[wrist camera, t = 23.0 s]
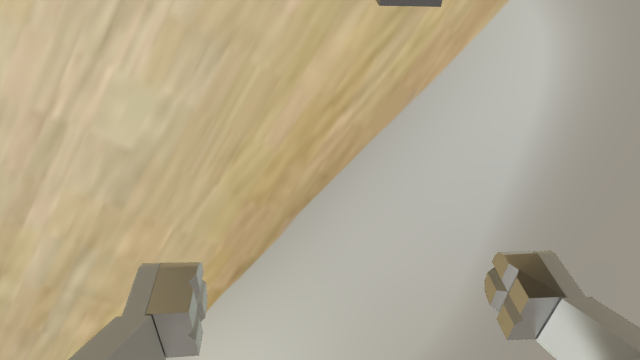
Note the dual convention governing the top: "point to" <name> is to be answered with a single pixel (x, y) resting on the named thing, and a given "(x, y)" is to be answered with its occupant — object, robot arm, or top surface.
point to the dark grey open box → (410, 3)
